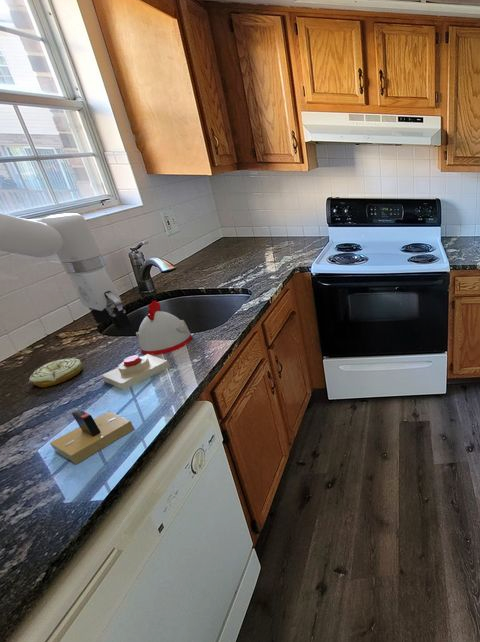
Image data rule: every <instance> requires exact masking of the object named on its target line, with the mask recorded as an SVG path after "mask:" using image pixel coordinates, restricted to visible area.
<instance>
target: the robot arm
mask: <svg viewBox="0 0 480 642" xmlns="http://www.w3.org/2000/svg"><path fill="white" fill-rule="evenodd" d="M0 251H1V252H7V253H13V254H16V255H17V254H18V255H23V256H28V257H33V258H34V257H35V258H45V257H46V258H47V257H51V256H53V255H57V257H58V259H59V261H60V263H61V265H62V267H63V269H64V271H65V273H66V274H67V275H68V276H70V277H69V278H70V280H71V283H72V284H73V287H74V289H75V292H76V294H77V297H78V299H79V301H80V303H81V305H83V306H84V307H86V308H88V309H89V311H90V313H91V315H92V317H93V319H94V321H95V323H96V324H102V323H105V322H108V321H110V320H111V322H112V324H113V326H114V329H115V330H116V331H121V330H123V329H126V328H128V327H131V326H132V323H131V321H130V319H129V317H128V315H127V311H126V310H125V307H124V306H125V305H123V301H122V300H121V297H120V295H119V292H118V290H117V289H116V287H115V285H114V283H113V281H112V279H111V278H110V276H109V274H108V272H107V270H106V268H107V263H106V262H105V259H104V256H103V255H102V253H101V251H100V248H99V246H98V244H97V242H96V240H95V238H94V235H93V234H92V231H91V229H90V226H89V225H88V222H87V220H86V219H85V217H84V216H83V215H82V214H79V213H74V212H73V213H60V214H53V215H48V216H45V217H41V218H30V219H29V218H24V217H19V216H15V215H11V214H7V213H2V212H0ZM112 308H113V309H112Z"/></svg>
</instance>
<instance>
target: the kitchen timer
mask: <svg viewBox="0 0 480 642" xmlns="http://www.w3.org/2000/svg"><path fill="white" fill-rule="evenodd" d="M147 306H148V309H147V310H146V311H147V312H148V314H146V316H145V317H144V318H143V320H142V321H141V323H140V325H139V328H138V331H136V332H135V335H136V338H137V340H138V346H139V349H140V351H141V354H143V355H146V354H150V355H153V356H159V355H164V354H168V353H172V352H175V351H178V350H179V349H182V348H183V347H186V346H187V345H188V344H189V343H190V342H191V341H192V340H193V336H192V334H191V331H190V330H189V328H188V325H187V323H186V321H185V320H184V319H180V318H179V317H177V316H176V315H173V314H171V313H170V312H166V311H163V310H161V304H160V301H158V302H157V300H152V302H149V304H147Z"/></svg>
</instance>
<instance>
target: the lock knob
mask: <svg viewBox="0 0 480 642" xmlns="http://www.w3.org/2000/svg"><path fill="white" fill-rule="evenodd" d="M71 416H72V418H74V420H75V422H76V423H77V425H78V427H80V428H81V430H82V431H84V432H86V433H88V434H90V435H91V436H93V437H94V436H96V435H97V434H99V433H101V432H100V430H99V428H98V426H97V425H96V423H95V421H94V420H93V419H94V418H93V416H92V415H91V414H90V413H88V412H87V411H84V410H82V409H80V408H79V409H77V410H74V411H73V412H71Z"/></svg>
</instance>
